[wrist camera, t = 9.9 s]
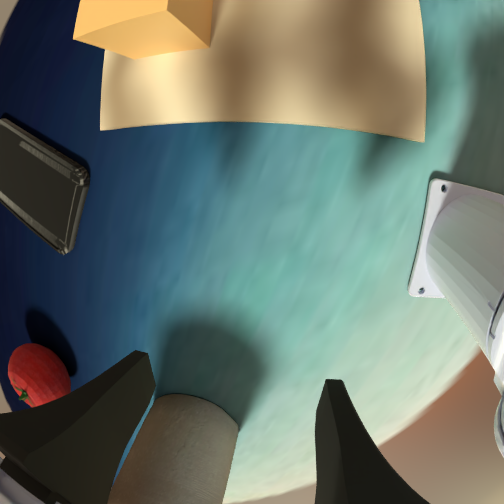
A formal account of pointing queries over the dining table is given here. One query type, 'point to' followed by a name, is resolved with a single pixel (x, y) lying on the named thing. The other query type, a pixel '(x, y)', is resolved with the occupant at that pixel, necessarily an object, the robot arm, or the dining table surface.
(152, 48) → the tan foam cube
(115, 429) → the robot arm
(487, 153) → the dining table surface
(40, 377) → the tomato
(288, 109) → the board
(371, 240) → the dining table surface
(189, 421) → the pillar candle
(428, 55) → the dining table surface
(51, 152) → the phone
